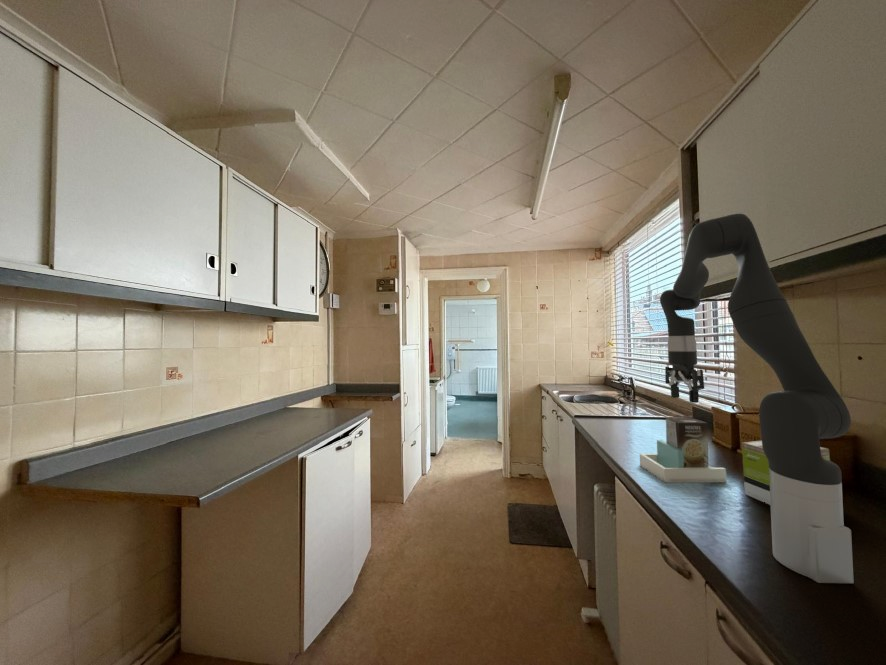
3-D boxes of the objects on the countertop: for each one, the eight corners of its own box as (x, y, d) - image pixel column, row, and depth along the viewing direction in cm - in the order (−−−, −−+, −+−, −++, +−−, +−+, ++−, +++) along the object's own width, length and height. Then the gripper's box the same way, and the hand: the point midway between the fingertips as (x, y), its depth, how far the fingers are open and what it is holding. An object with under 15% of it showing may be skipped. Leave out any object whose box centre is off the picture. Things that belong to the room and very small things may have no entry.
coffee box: (679, 474, 99) (677, 422, 100) (666, 466, 106) (664, 417, 106) (710, 474, 99) (708, 422, 99) (695, 466, 105) (693, 417, 105)
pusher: (684, 476, 97) (683, 450, 97) (679, 476, 97) (678, 450, 97) (662, 463, 108) (661, 440, 108) (657, 463, 108) (656, 440, 108)
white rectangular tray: (726, 482, 95) (725, 468, 95) (664, 482, 96) (664, 469, 96) (694, 465, 108) (693, 453, 108) (640, 465, 109) (639, 453, 109)
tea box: (786, 489, 91) (784, 437, 91) (835, 507, 81) (832, 448, 81) (742, 494, 88) (740, 440, 89) (786, 513, 78) (784, 453, 79)
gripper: (711, 350, 96) (713, 404, 95) (678, 349, 110) (680, 396, 110) (685, 350, 96) (688, 404, 96) (656, 349, 111) (658, 396, 110)
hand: (684, 400), depth 103 cm, fingers open, 8 cm apart
